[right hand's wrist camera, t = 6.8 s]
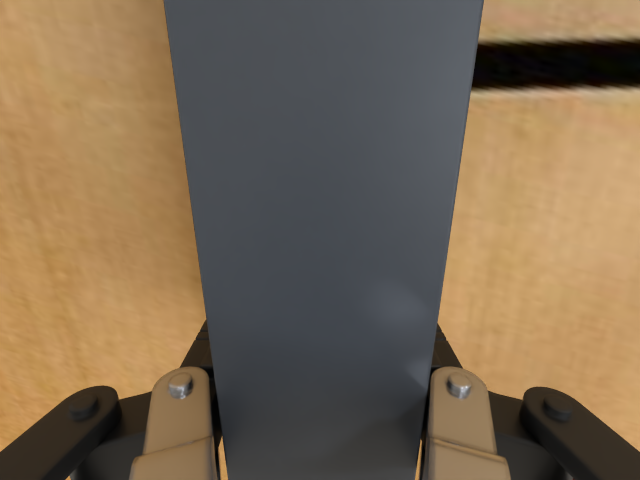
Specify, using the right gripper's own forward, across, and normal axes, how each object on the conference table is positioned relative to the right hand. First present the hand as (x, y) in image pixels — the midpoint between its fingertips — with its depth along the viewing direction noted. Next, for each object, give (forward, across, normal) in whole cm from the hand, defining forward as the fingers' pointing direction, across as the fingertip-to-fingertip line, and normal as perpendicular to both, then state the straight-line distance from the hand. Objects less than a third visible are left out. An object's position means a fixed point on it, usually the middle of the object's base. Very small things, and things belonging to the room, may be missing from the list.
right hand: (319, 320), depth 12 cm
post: (+4, 0, -26) cm, 27 cm away
